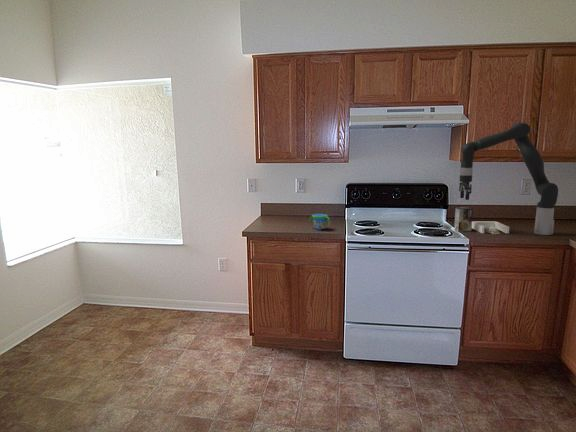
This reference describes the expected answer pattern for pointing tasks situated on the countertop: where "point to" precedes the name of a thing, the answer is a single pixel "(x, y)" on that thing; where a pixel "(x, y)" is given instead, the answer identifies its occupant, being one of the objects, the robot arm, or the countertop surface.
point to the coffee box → (463, 219)
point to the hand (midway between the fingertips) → (464, 198)
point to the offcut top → (492, 228)
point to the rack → (481, 225)
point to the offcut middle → (492, 231)
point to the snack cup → (319, 221)
